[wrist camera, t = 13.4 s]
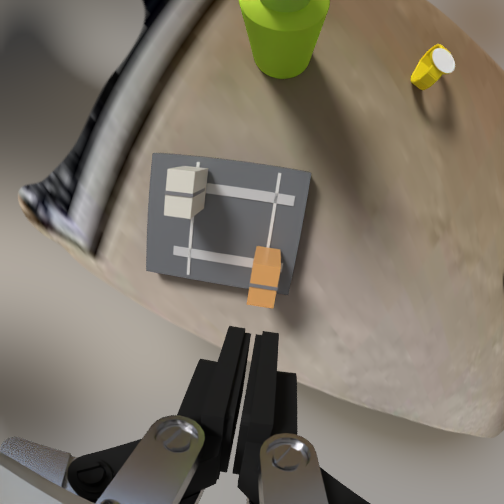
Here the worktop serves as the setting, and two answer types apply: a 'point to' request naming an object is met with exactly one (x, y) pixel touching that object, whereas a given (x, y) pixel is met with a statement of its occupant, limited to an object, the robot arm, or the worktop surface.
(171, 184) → the fader ivory
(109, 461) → the robot arm
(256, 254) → the fader orange
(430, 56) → the watch
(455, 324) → the worktop surface
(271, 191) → the mixer panel
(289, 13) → the soap dispenser
